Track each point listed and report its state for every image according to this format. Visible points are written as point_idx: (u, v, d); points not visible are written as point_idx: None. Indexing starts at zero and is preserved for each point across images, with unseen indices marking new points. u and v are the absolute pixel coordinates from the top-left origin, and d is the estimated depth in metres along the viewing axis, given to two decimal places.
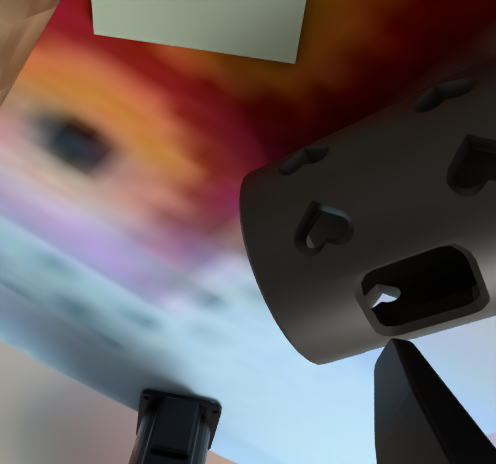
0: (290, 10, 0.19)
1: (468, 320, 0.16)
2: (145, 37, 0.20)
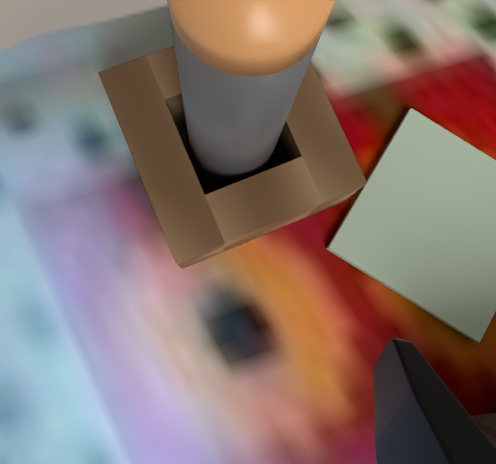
0: (488, 301, 0.23)
1: None
2: (368, 268, 0.23)
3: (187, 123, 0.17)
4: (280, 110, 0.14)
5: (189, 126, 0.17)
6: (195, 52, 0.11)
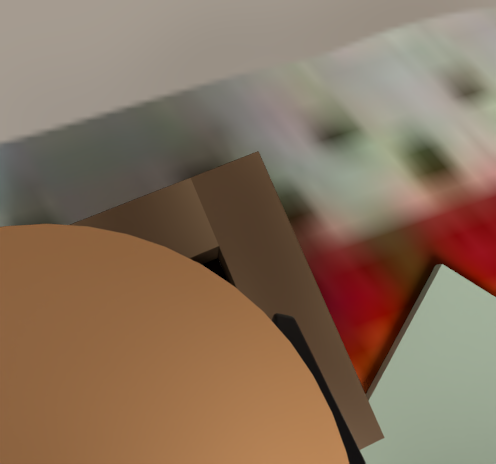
0: None
1: None
2: None
3: None
4: None
5: None
6: None
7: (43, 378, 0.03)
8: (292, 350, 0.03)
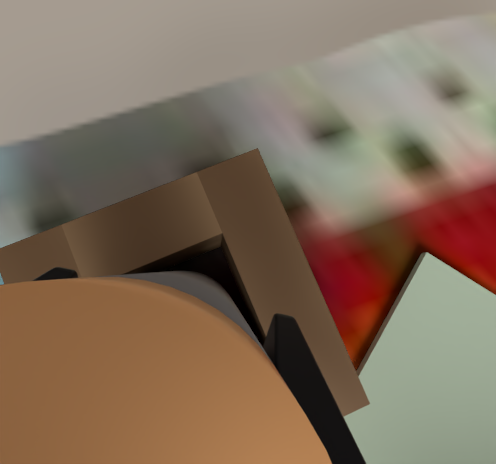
0: None
1: None
2: None
3: None
4: None
5: None
6: None
7: (36, 437, 0.03)
8: (283, 392, 0.03)
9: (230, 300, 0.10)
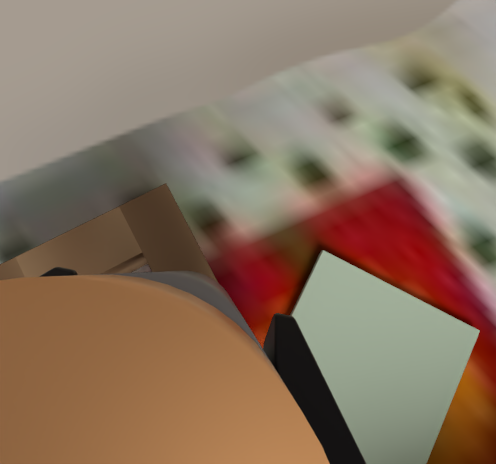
0: (417, 455, 0.22)
1: None
2: None
3: None
4: None
5: None
6: None
7: (31, 434, 0.03)
8: (279, 388, 0.03)
9: None
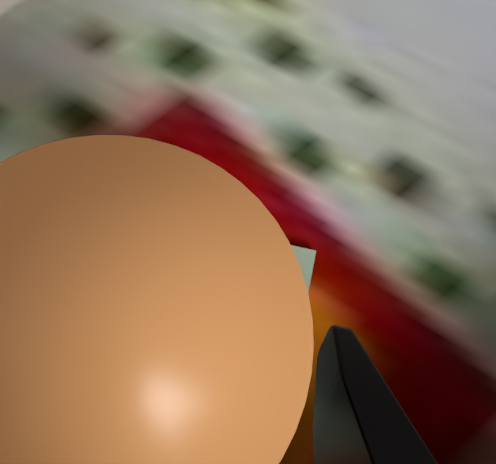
0: None
1: None
2: None
3: None
4: None
5: None
6: None
7: (102, 229, 0.04)
8: (260, 204, 0.05)
9: None
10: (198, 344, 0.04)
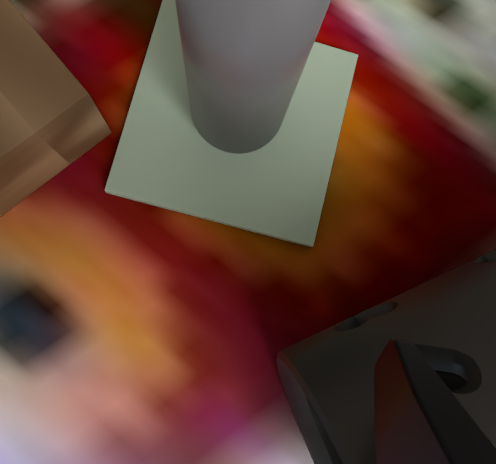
0: (311, 196, 0.19)
1: None
2: (160, 201, 0.19)
3: (183, 47, 0.13)
4: (316, 3, 0.10)
5: (186, 50, 0.13)
6: None
7: None
8: None
9: None
10: None
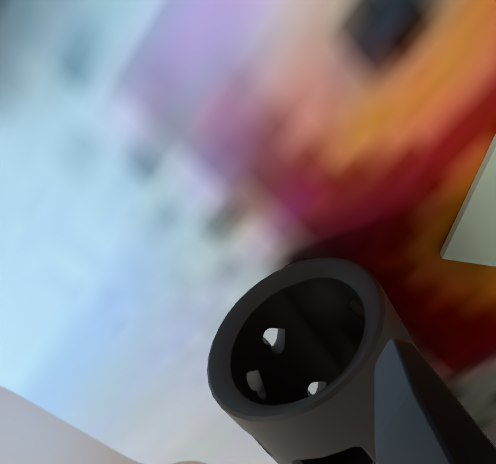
0: (486, 256, 0.23)
1: None
2: None
3: None
4: None
5: None
6: None
7: None
8: None
9: None
10: None
